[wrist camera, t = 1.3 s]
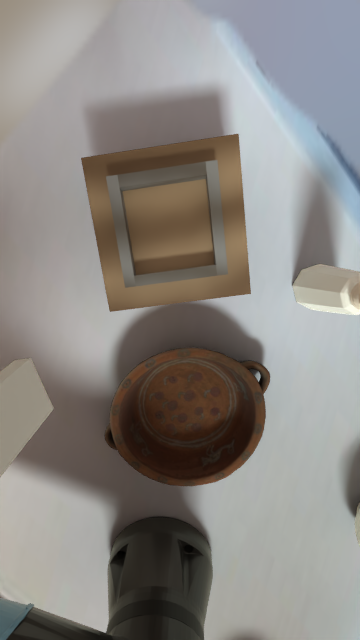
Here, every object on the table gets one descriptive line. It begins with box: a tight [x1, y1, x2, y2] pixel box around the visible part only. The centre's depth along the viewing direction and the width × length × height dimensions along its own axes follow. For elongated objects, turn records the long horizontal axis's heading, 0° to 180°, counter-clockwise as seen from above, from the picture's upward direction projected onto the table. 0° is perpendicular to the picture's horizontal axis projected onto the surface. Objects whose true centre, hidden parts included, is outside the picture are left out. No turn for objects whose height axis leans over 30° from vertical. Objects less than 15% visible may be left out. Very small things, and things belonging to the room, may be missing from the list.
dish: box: [105, 348, 270, 486], centre depth 32 cm, size 18×22×5 cm
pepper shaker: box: [292, 264, 360, 315], centre depth 26 cm, size 5×5×11 cm
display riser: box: [81, 134, 251, 312], centre depth 27 cm, size 14×14×7 cm
